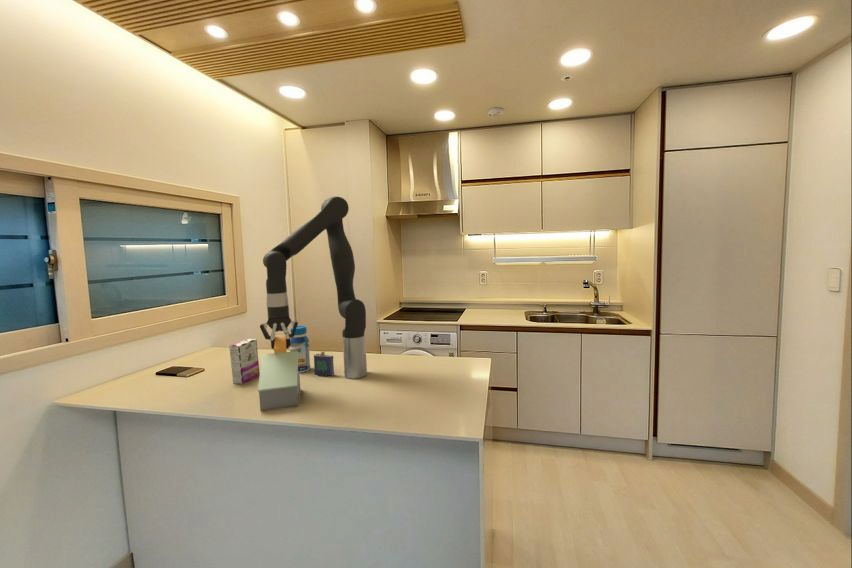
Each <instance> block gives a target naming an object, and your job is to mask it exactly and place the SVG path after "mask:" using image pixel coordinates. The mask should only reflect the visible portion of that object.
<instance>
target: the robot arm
mask: <svg viewBox="0 0 852 568" xmlns="http://www.w3.org/2000/svg"><path fill="white" fill-rule="evenodd" d="M348 213H349V203H348V202H347V200H346V199H345V198H344V197H342V196H341V197H340V196H332V197H331V196H330V197H329V198H326V199H325V200H324V201H323V202H322V204H321V207H320V211H319V212H318V213H317V214H316V215H315V216H314V217H312V218H311V219H309V221H306V222H305V223H304V224H303V225H301V226H299V227H298V228H297V229H295V230H294V231H293V232H291V233H290V234H289V235H288V236H287V237H285V239H284V240H282V241H281V242H280V243H278V245H276V246H275V247H273V248H272V249H271V250H269V251H268V252H267V253H265V254H264V256H263V258H262V264H263V266H264V267H265V268H266V275H267V276H266V277H267V278H266V281H265V287H266V310H267V321H266V322H264V323H261V324H260V325H259V328H260V331H261V332H262V334H263V336H264V339H265V340H269V341H270V347H271V349H272V350H273V351H274V343H275V336H276V333H277V332H279V331H280V332H283V335H285V336H286V347H287V349H290V346H291V343H290V340H291V338H292V337H294V335H295V332H296V328H297V326H299V325H298V324H299V321H298V320H292V319H291V318H290V307H289V306H290V305H289V295H288V289H287V281H286V280H287V279H286V277H287V261H289V260H290V259H291V258H292V257H295V256H296V255H298V254H299V253H301V252H302V250H304V249H305V248H306V247H308V245H309V244H310V243H311V242H313V241H314V240H315V239H316V238H317V237H318V236H319V235H320V234H322V233H323V232H324V231H325V230H326V235H327V241H328V248H329V255H330V261H331V267H332V271H333V276H334V282H335V287H336V294H337V295H336V296H337V308H338V309H337V310H338V313H339V315H340V316H341V318H344V322H345V325H344V326H345V327H344V329H342V331H341V334H342V336H341V337H342V353H343V370H344V371H343V372H344V377H345V378H346V379H353V380H355V379H360V378H363V377H367V376H368V367H367V366H368V365H367V353H366V340H365V339H366V337H365V332H366V327H367V312H366V305H365V304H364V302H363V301H362V300H360V299H356V295H355V290H354V277H355V270H356V262H355V259H354V253H353V249H352V245H351V244H350V242H349V240H348V237H347V236H346V232H345V229H344V223H343V221H344V220H343V219H344V218H345V217H346V216H347V215H348ZM290 324H291V327H293V330H292V333H291V332H289V329H288V327H289V326H290ZM268 327H269V328H270V329H271V334H269V332H268V330H267V328H268Z"/></svg>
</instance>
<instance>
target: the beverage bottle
mask: <svg viewBox="0 0 852 568" xmlns="http://www.w3.org/2000/svg"><path fill="white" fill-rule="evenodd" d="M289 330H290V334H291V333H292V330H293V326H291V327H290V329H289ZM307 333H308V332H307V326H306V325H297V328H296V332H295V335H294V337H291V338H290V343H291V345H290V347H289V352H292V351H298V372H299V374H301V373H305V371H306V372H308V371H310V370H311V359H310V358H311V357H310V349H311V348H310V344H309V342H310V339H309V338H308V335H307Z"/></svg>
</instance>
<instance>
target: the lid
mask: <svg viewBox="0 0 852 568" xmlns="http://www.w3.org/2000/svg"><path fill="white" fill-rule="evenodd" d="M273 351H274V353H264V354H262V355H261V362H260V363H261V365H260V369H259V373H260V375H259V378H258V386H257V387H258V388H257V391H258V393H259V391H266V390H274V389H282V388H290V387H297V381H298V351H292V352H290V351H287V347H286V336H285V334H280V335H275V343H274V350H273Z"/></svg>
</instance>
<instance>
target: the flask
mask: <svg viewBox="0 0 852 568" xmlns="http://www.w3.org/2000/svg"><path fill="white" fill-rule="evenodd" d="M325 353H326V350H323V351H320V353H319V352H318V353H315V354H314V355H313V364H314V367H313V368H314V369H313V371H314V376H315V375H318V376H317V377H328V376H330V377H334V376H335V368H334V367H335V366H334V355H333V354H325ZM333 375H334V376H333Z"/></svg>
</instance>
